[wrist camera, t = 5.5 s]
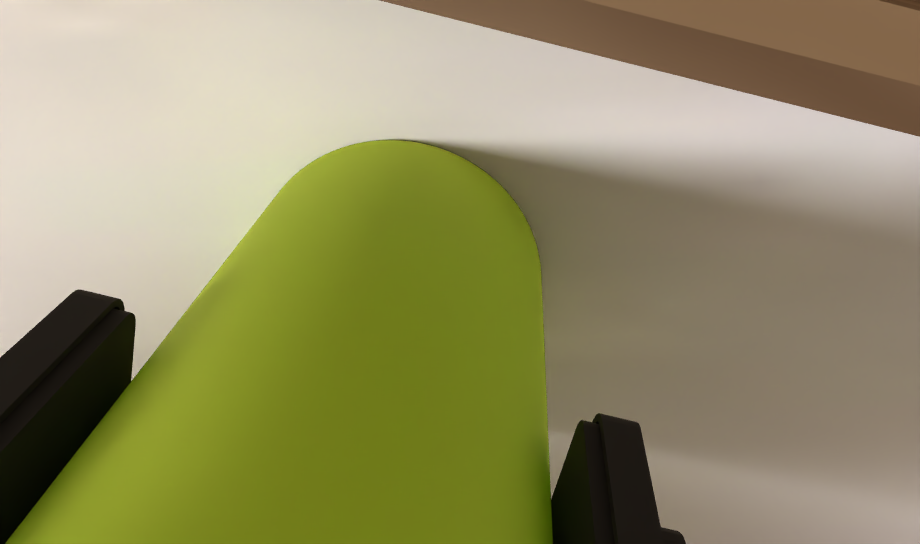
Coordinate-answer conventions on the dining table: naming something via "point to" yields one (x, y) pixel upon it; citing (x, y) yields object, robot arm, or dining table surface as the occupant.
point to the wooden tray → (739, 45)
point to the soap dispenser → (337, 377)
